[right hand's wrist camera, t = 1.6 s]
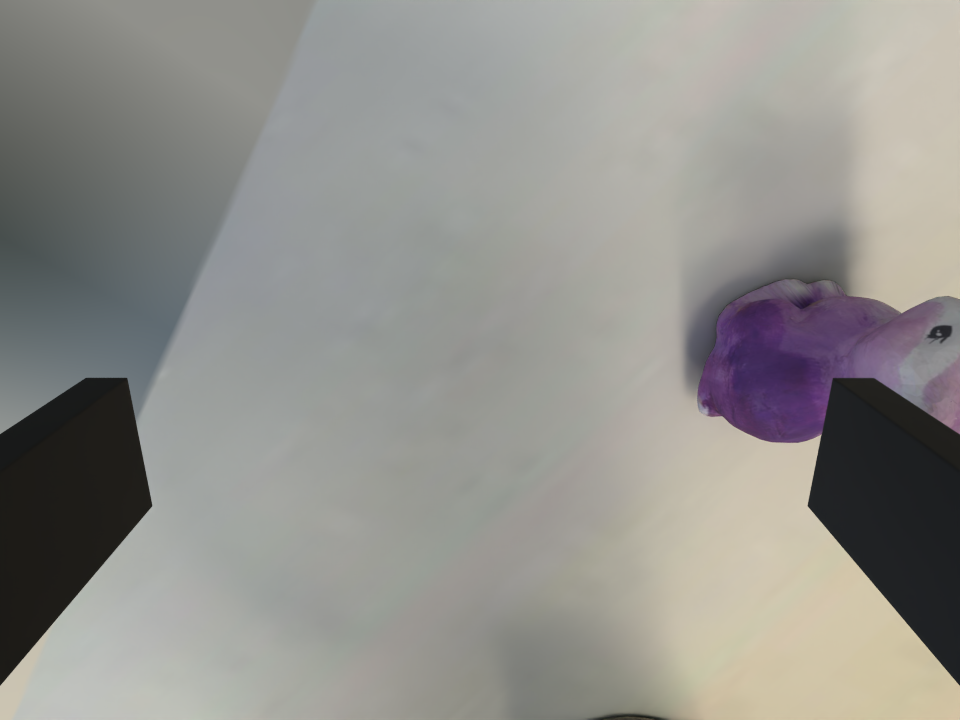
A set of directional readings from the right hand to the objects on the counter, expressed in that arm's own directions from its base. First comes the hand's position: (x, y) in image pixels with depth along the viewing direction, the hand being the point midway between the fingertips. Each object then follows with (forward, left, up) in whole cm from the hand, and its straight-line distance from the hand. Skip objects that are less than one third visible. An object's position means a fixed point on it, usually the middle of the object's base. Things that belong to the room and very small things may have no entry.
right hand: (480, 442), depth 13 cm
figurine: (-9, -17, -27) cm, 33 cm away
